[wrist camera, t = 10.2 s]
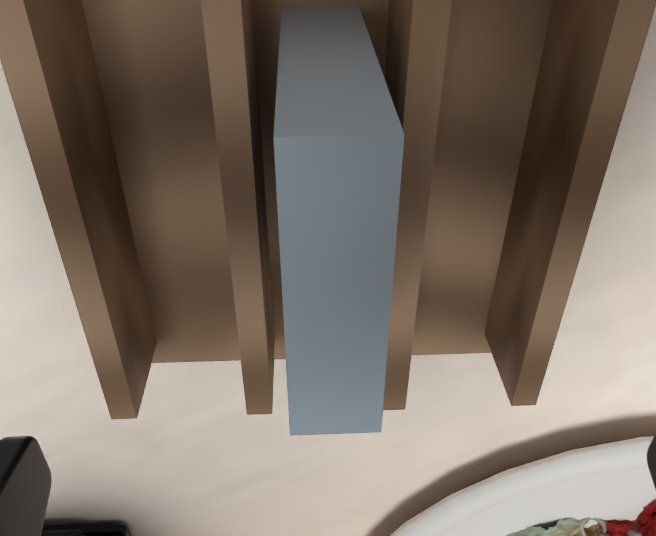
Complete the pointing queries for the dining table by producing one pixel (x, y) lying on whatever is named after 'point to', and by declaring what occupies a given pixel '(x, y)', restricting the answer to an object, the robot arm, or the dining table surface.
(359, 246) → the plate tile
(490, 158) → the dish rack
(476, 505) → the plated food
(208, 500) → the dining table surface
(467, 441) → the dining table surface
